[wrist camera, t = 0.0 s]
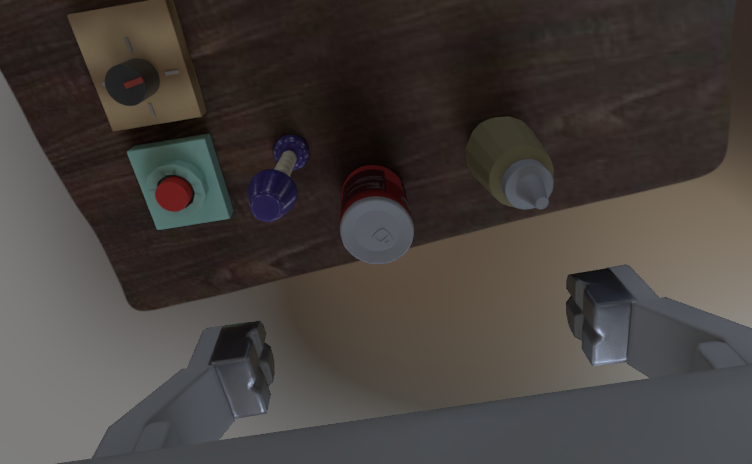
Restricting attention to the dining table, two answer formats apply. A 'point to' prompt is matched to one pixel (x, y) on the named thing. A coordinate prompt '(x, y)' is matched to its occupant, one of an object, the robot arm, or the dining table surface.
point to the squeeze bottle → (510, 163)
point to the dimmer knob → (132, 81)
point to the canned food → (375, 215)
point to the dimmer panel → (144, 41)
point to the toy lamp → (278, 180)
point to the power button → (173, 194)
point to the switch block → (191, 164)
